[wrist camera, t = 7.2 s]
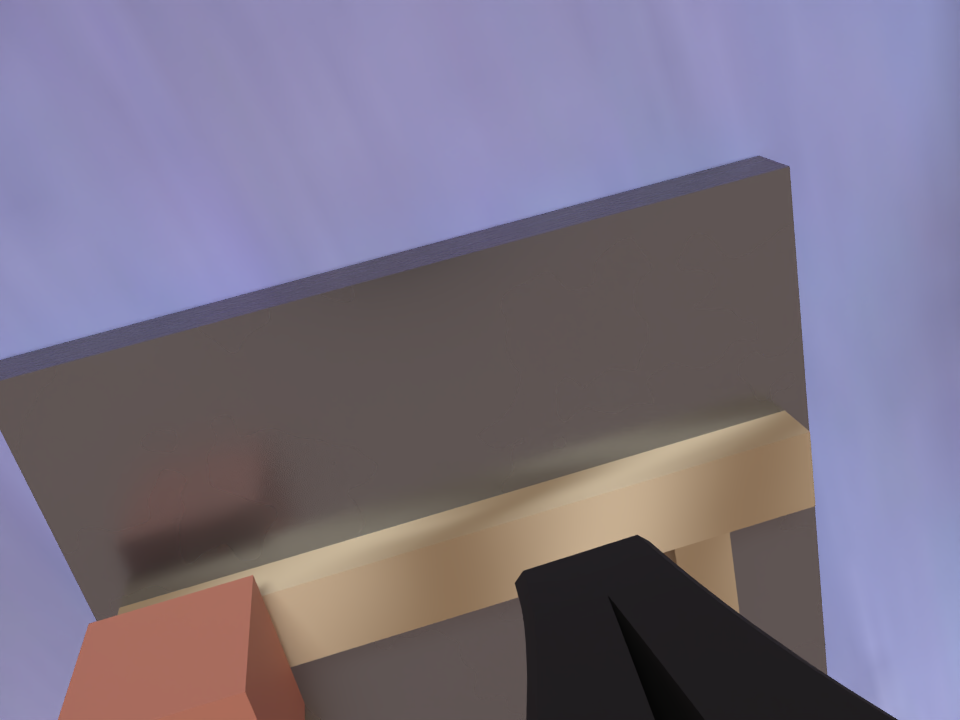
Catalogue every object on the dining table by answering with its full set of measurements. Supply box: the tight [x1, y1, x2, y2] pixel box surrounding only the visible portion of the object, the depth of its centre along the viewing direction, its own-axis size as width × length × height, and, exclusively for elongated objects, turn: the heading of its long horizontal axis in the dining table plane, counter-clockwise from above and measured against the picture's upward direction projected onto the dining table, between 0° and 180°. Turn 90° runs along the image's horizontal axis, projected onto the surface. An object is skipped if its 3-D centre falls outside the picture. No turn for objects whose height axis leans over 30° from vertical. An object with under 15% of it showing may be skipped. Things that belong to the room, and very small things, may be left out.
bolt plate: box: [0, 156, 827, 720], centre depth 19 cm, size 15×14×1 cm
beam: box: [118, 411, 815, 667], centre depth 18 cm, size 14×7×3 cm, turn 103°
